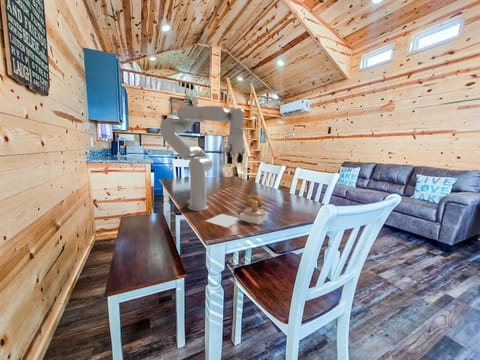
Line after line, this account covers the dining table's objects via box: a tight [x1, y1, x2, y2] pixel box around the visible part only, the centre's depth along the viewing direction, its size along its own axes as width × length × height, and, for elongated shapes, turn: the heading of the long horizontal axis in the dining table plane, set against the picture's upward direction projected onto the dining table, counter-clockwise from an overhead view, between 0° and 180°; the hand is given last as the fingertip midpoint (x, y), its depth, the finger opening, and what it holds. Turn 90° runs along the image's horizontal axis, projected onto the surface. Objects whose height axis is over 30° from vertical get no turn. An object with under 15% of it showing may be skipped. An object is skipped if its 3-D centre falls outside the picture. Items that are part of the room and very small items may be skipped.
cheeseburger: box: [245, 195, 264, 210], centre depth 128 cm, size 10×11×10 cm
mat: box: [205, 213, 241, 228], centre depth 110 cm, size 14×14×1 cm
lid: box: [242, 201, 267, 217], centre depth 112 cm, size 12×12×6 cm
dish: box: [239, 211, 269, 225], centre depth 113 cm, size 11×11×4 cm
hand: (234, 163), depth 119 cm, fingers open, 9 cm apart
